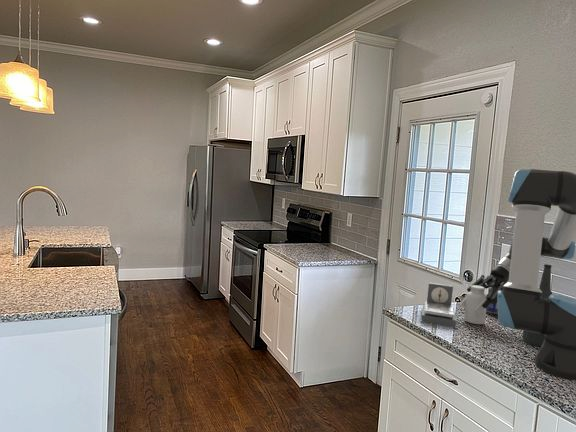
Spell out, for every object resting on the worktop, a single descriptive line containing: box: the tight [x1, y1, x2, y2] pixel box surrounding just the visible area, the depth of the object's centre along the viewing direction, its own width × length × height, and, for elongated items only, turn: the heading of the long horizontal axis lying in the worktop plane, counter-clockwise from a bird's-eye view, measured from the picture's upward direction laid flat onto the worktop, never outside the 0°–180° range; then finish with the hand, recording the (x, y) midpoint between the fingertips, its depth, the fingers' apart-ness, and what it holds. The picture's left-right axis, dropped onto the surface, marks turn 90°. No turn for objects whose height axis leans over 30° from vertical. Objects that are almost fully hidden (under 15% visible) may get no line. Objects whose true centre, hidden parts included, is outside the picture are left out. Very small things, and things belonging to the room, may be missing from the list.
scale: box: [421, 281, 457, 329], centre depth 185 cm, size 18×13×13 cm
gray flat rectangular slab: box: [424, 301, 454, 318], centre depth 184 cm, size 14×11×1 cm
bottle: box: [522, 264, 553, 348], centre depth 163 cm, size 10×10×30 cm
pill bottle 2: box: [486, 287, 498, 316], centre depth 198 cm, size 6×6×11 cm
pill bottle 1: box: [464, 284, 487, 325], centre depth 183 cm, size 8×8×15 cm
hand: (469, 308), depth 182 cm, fingers closed on pill bottle 1, 8 cm apart
